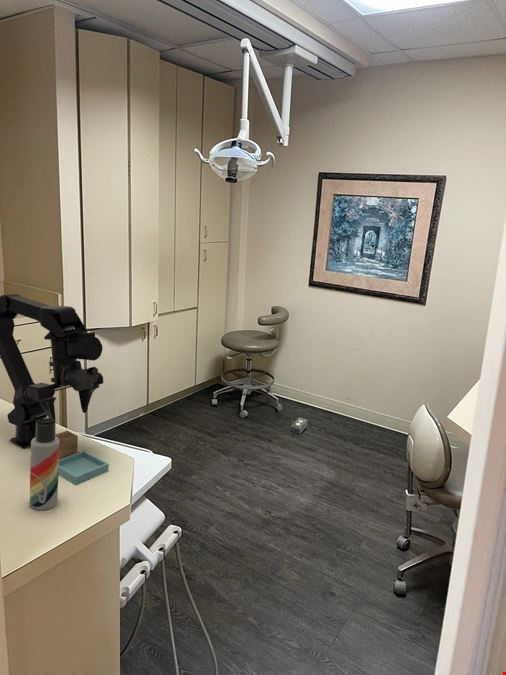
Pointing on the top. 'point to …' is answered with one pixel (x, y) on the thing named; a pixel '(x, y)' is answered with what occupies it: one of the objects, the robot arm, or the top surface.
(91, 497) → the top surface
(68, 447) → the walnut block
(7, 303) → the robot arm
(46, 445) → the lotion bottle
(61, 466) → the teal tray
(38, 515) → the top surface
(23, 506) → the top surface
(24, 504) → the top surface
